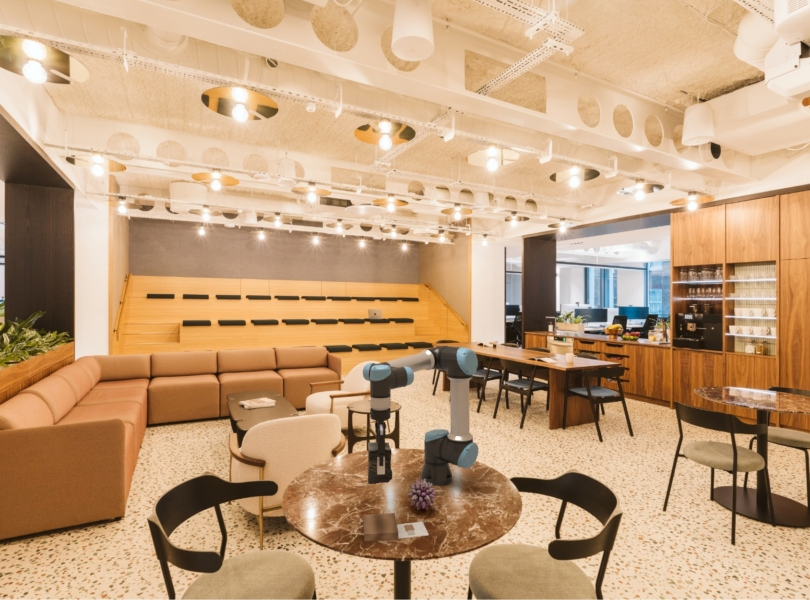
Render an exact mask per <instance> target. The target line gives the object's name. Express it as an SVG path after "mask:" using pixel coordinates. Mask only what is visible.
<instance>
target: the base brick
mask: <svg viewBox="0 0 810 600" xmlns="http://www.w3.org/2000/svg"><path fill="white" fill-rule="evenodd" d="M362 519H363V536H364V539H363V540H364V542H380V541H381V542H382V541H396V540H397V541H398V540H399V538H398V528H397V525H398V524H397V518H396V514H395V512H390V513H375V514H373V513H372V514H363V518H362Z"/></svg>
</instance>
